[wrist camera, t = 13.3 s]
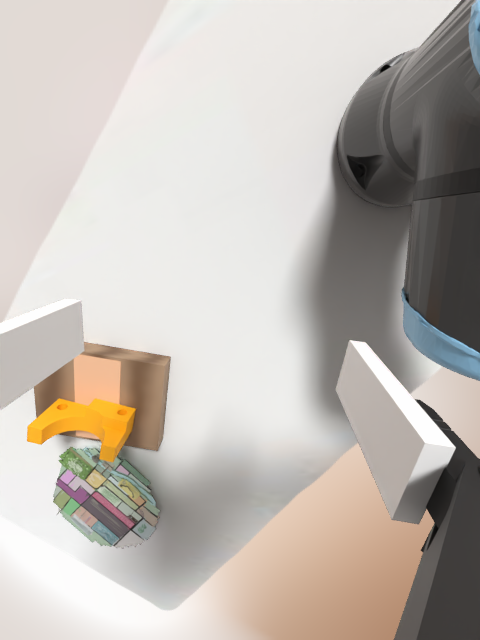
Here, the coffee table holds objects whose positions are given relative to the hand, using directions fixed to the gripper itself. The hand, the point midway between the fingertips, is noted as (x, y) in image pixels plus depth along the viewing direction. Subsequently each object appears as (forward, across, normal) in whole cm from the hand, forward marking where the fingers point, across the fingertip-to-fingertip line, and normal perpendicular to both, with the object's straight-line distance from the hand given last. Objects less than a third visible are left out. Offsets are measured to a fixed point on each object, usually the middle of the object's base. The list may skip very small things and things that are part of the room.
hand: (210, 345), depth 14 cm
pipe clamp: (+23, -20, -25) cm, 39 cm away
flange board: (+26, -20, -23) cm, 40 cm away
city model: (+26, -21, -46) cm, 57 cm away
